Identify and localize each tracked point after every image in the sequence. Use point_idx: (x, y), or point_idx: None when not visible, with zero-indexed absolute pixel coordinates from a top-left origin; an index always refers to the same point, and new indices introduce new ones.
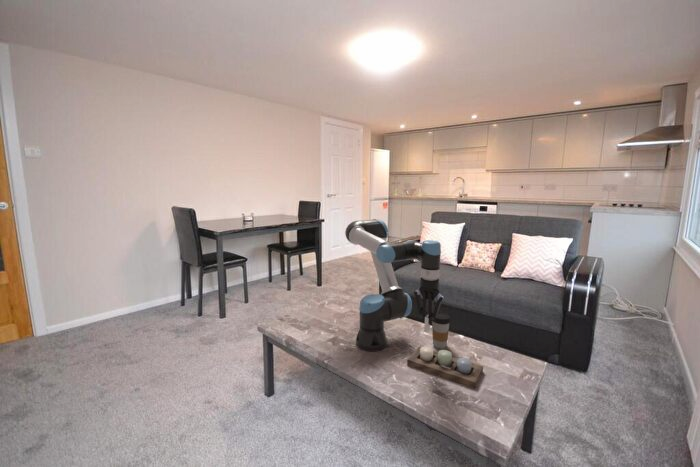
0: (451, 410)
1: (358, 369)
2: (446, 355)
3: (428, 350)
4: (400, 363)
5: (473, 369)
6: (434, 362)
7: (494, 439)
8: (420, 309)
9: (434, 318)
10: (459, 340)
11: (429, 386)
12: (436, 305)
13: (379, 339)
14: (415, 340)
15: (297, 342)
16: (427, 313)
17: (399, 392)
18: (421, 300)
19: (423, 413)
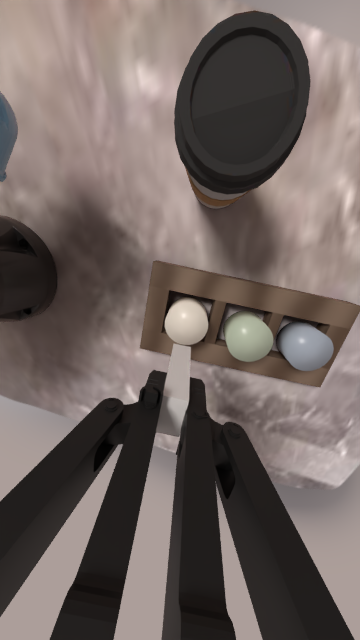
0: (255, 447)
1: (52, 393)
2: (254, 352)
3: (192, 327)
4: (126, 341)
5: (326, 333)
6: (214, 337)
7: (320, 481)
8: (98, 471)
9: (194, 160)
10: None
11: (210, 400)
12: (265, 626)
13: (22, 304)
14: (125, 180)
15: None
16: (161, 402)
17: None
18: (33, 523)
19: None
